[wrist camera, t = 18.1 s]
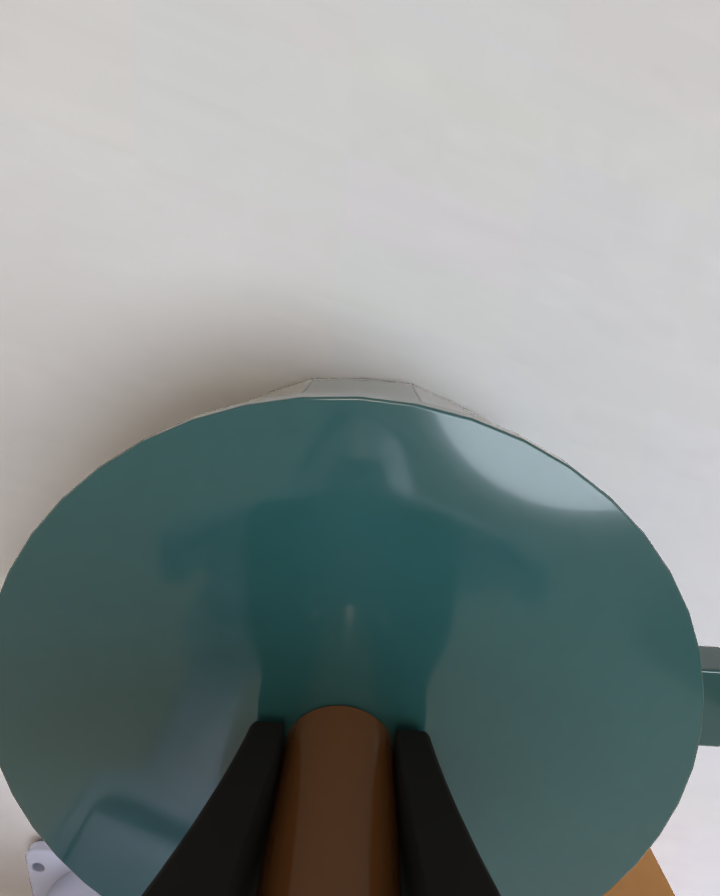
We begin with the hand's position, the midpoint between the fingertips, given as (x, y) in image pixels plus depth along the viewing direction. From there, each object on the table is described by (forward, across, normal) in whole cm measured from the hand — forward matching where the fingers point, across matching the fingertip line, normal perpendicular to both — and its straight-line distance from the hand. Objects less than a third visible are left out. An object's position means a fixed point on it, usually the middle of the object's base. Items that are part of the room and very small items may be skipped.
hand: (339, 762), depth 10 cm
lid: (+1, 0, 0) cm, 1 cm away
